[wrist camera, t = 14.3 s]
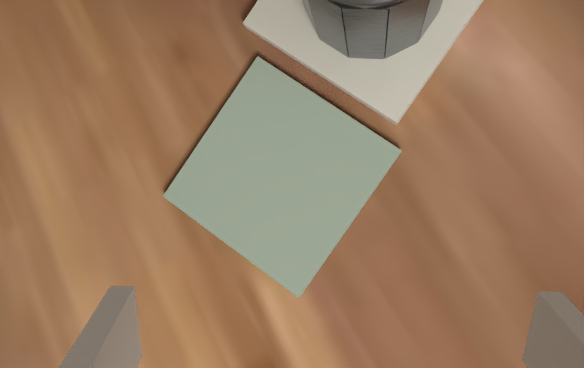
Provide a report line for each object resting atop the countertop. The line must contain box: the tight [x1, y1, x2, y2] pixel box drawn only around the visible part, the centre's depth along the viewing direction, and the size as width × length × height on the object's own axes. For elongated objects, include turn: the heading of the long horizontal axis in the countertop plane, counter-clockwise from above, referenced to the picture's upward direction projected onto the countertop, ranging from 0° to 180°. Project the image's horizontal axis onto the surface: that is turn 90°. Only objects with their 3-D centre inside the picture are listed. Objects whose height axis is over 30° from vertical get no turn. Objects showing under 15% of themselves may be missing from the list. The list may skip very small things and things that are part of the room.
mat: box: [163, 56, 402, 298], centre depth 39 cm, size 14×14×1 cm
